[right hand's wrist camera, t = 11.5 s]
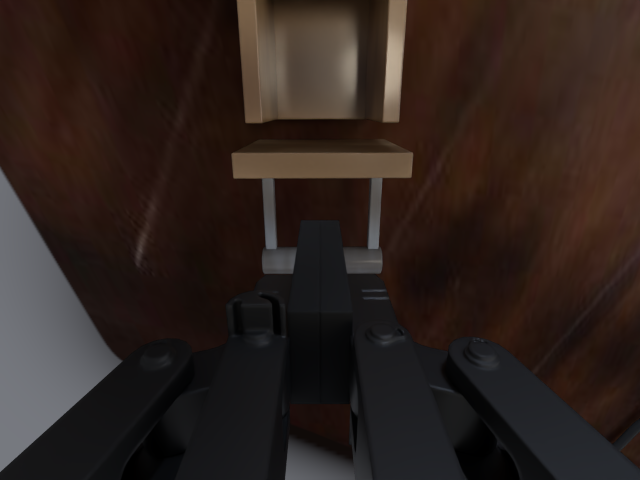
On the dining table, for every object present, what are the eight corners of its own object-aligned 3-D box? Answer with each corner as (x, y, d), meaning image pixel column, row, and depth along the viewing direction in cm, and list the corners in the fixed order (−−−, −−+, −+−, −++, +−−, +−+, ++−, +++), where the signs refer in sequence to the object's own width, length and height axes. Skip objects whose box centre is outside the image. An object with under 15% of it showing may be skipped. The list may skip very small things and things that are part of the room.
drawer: (378, 240, 27) (401, 291, 19) (264, 240, 27) (242, 292, 19) (405, -233, 18) (466, -475, 11) (236, -232, 18) (177, -473, 11)
